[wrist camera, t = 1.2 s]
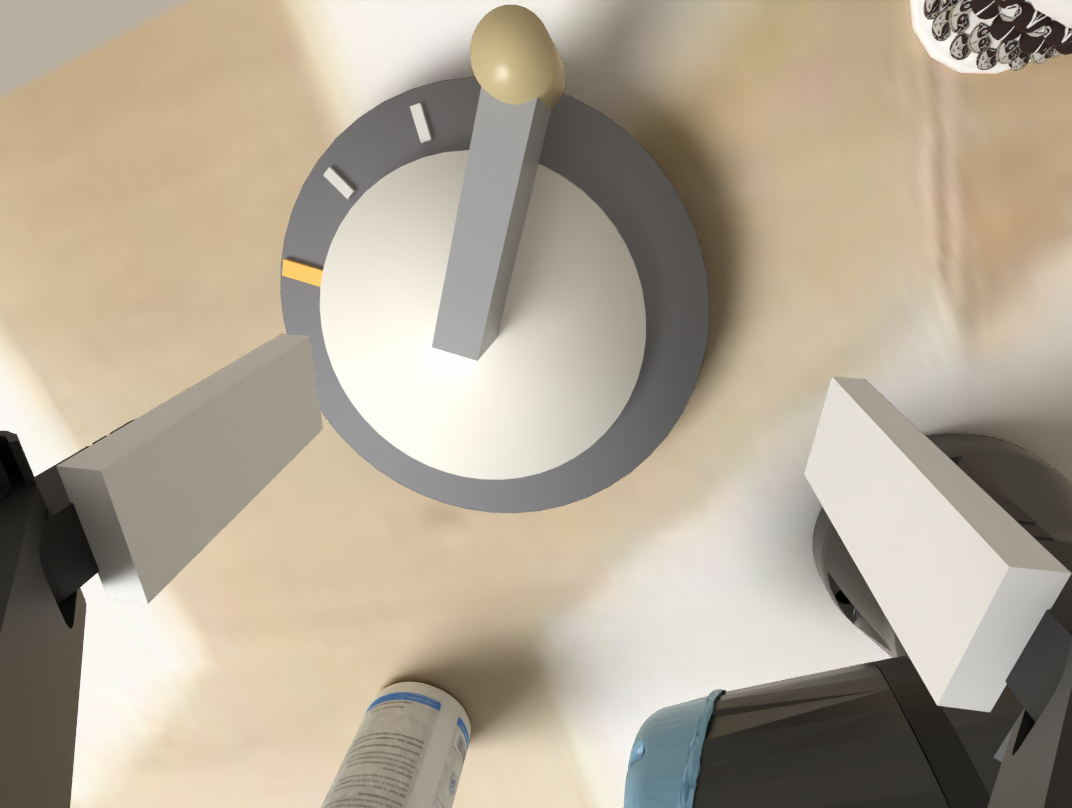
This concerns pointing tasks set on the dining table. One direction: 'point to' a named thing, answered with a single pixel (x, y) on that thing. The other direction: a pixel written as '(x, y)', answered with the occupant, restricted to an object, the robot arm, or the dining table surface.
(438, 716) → the supplement tub
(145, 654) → the dining table surface
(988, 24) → the decorative candle
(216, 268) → the dining table surface
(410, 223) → the dial
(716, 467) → the dining table surface
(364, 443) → the dial base
